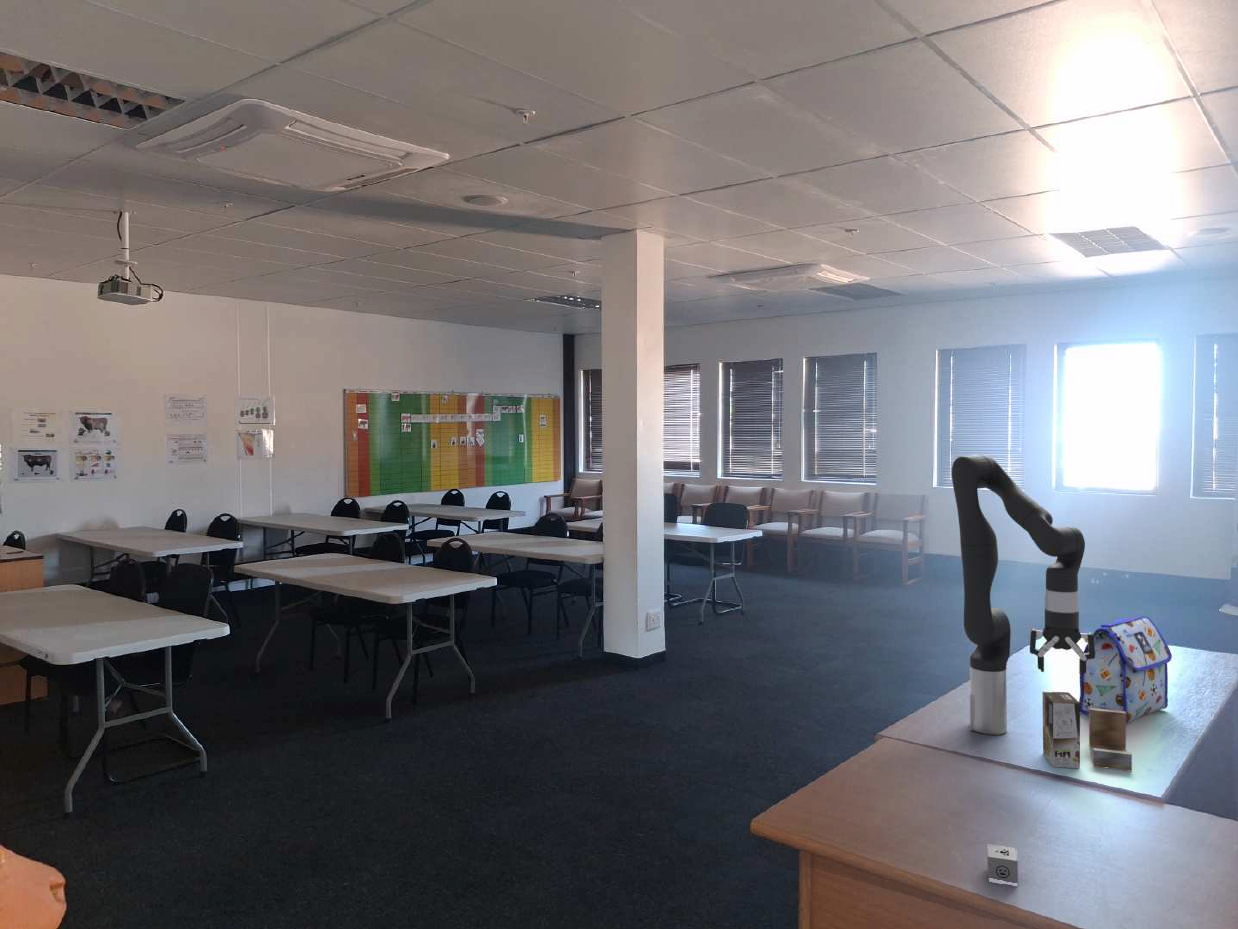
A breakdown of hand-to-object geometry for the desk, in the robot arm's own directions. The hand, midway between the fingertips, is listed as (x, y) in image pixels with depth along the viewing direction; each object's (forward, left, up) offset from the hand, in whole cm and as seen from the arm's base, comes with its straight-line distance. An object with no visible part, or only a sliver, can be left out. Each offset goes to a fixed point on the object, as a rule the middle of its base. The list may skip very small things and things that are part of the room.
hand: (1061, 673), depth 212 cm
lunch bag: (+18, +44, -22) cm, 52 cm away
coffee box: (0, 0, -22) cm, 22 cm away
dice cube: (-13, -64, -22) cm, 69 cm away
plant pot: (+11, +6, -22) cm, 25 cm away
